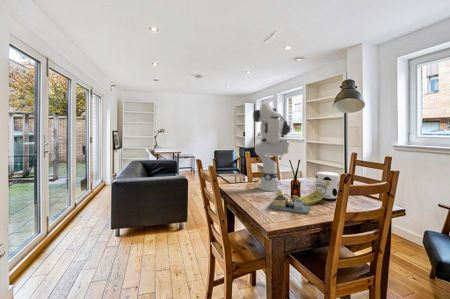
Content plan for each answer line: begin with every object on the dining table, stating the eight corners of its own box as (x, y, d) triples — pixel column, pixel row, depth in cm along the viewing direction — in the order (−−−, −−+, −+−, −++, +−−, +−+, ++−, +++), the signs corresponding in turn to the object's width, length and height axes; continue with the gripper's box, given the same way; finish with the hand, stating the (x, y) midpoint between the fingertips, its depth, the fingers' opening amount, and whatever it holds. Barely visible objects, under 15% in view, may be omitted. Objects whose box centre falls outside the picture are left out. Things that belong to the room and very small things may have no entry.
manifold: (272, 203, 164) (272, 195, 164) (309, 208, 154) (310, 199, 154) (268, 208, 153) (268, 199, 153) (307, 214, 143) (308, 205, 143)
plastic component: (303, 203, 156) (293, 193, 164) (300, 212, 160) (290, 201, 168) (325, 198, 164) (315, 188, 172) (322, 206, 168) (312, 196, 176)
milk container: (312, 199, 175) (313, 174, 173) (315, 193, 190) (316, 170, 189) (338, 202, 167) (340, 176, 165) (340, 196, 182) (341, 172, 181)
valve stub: (277, 203, 159) (278, 191, 158) (284, 204, 157) (285, 192, 156) (276, 205, 155) (276, 192, 154) (283, 206, 153) (283, 193, 152)
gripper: (289, 139, 166) (289, 159, 167) (261, 139, 175) (260, 158, 176) (288, 140, 160) (287, 160, 162) (258, 139, 169) (258, 159, 170)
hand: (273, 159), depth 169 cm, fingers open, 8 cm apart
